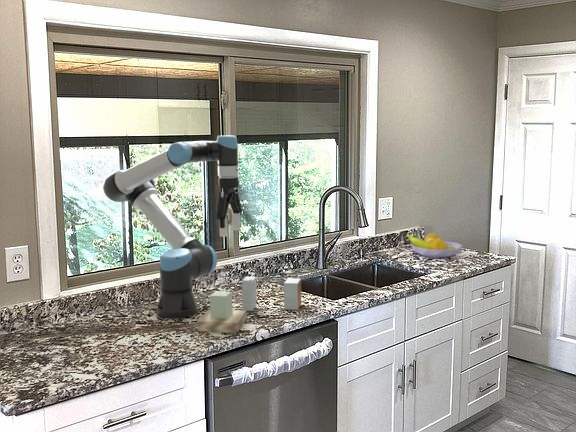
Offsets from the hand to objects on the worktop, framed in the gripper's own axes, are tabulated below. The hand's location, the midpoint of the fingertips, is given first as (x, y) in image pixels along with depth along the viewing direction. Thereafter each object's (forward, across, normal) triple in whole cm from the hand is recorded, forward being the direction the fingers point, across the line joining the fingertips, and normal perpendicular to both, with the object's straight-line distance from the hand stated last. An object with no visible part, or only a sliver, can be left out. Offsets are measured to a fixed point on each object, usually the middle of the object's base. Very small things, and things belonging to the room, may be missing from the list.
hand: (230, 233), depth 230 cm
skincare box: (+30, +1, -7) cm, 30 cm away
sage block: (+26, -20, -3) cm, 33 cm away
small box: (+30, +8, -22) cm, 38 cm away
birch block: (+30, -19, -4) cm, 36 cm away
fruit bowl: (+30, +116, -72) cm, 140 cm away
